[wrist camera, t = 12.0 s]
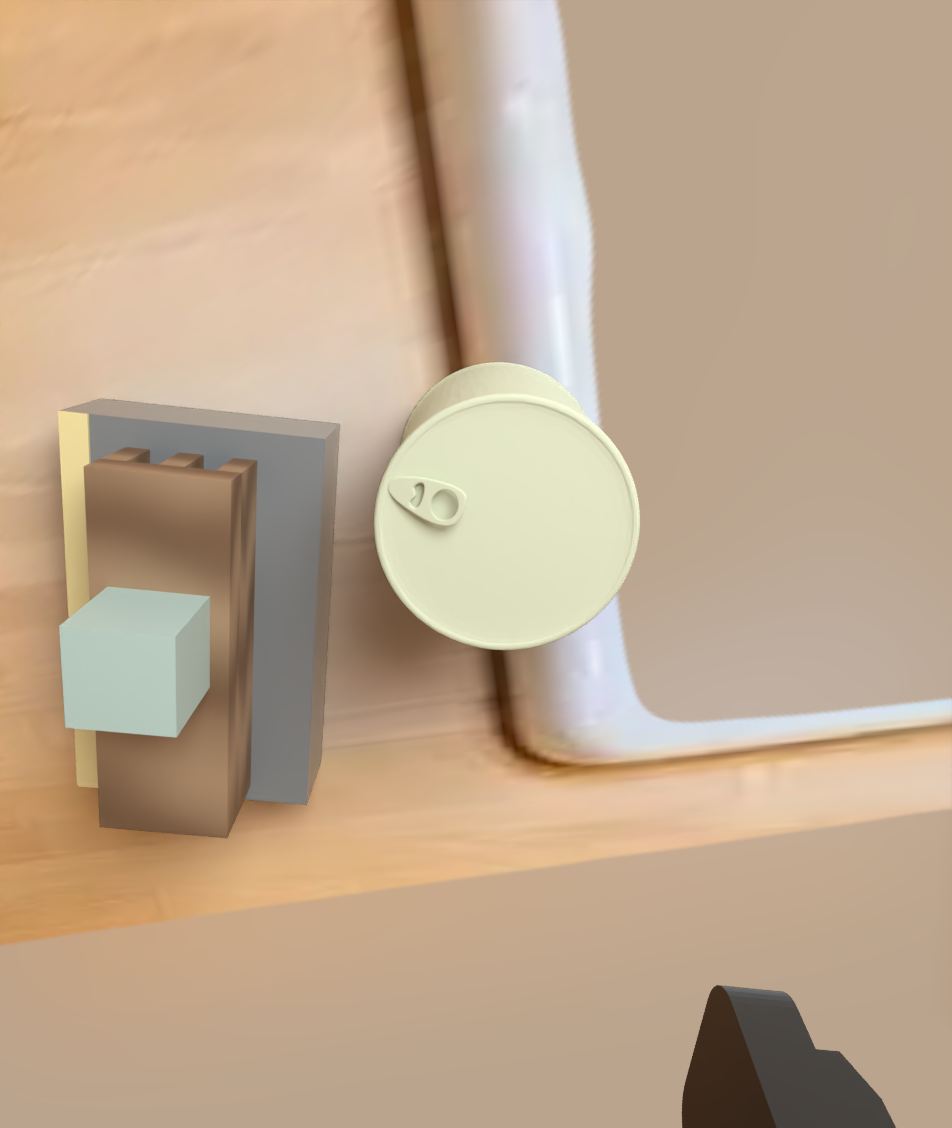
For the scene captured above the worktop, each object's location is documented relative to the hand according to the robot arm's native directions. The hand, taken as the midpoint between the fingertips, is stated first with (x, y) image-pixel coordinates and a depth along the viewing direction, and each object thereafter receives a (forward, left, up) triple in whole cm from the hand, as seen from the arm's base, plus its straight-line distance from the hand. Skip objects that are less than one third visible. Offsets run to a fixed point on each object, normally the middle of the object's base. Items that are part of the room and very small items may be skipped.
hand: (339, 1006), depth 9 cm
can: (0, +3, -32) cm, 32 cm away
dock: (+8, -10, -32) cm, 34 cm away
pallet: (+8, -10, -28) cm, 31 cm away
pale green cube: (+7, -10, -24) cm, 27 cm away
